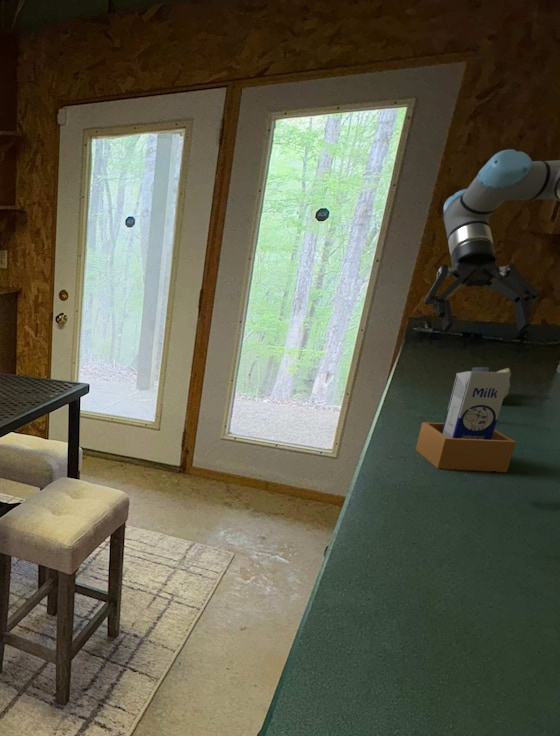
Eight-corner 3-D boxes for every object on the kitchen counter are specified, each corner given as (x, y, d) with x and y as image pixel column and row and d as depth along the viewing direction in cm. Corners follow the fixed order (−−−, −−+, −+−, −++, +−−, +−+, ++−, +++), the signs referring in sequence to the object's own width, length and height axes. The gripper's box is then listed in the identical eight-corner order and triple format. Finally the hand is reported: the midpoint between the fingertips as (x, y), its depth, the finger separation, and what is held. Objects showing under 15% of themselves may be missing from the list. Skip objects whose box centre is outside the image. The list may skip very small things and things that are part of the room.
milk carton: (446, 460, 137) (471, 370, 129) (435, 451, 143) (458, 364, 135) (485, 463, 135) (512, 371, 127) (472, 453, 140) (497, 365, 133)
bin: (478, 453, 143) (487, 424, 140) (506, 472, 132) (516, 441, 129) (415, 450, 146) (422, 422, 144) (437, 468, 135) (445, 438, 132)
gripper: (528, 261, 140) (545, 339, 132) (400, 264, 146) (410, 338, 138) (549, 236, 133) (569, 316, 125) (414, 240, 140) (425, 316, 132)
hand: (485, 328), depth 132 cm, fingers open, 13 cm apart
